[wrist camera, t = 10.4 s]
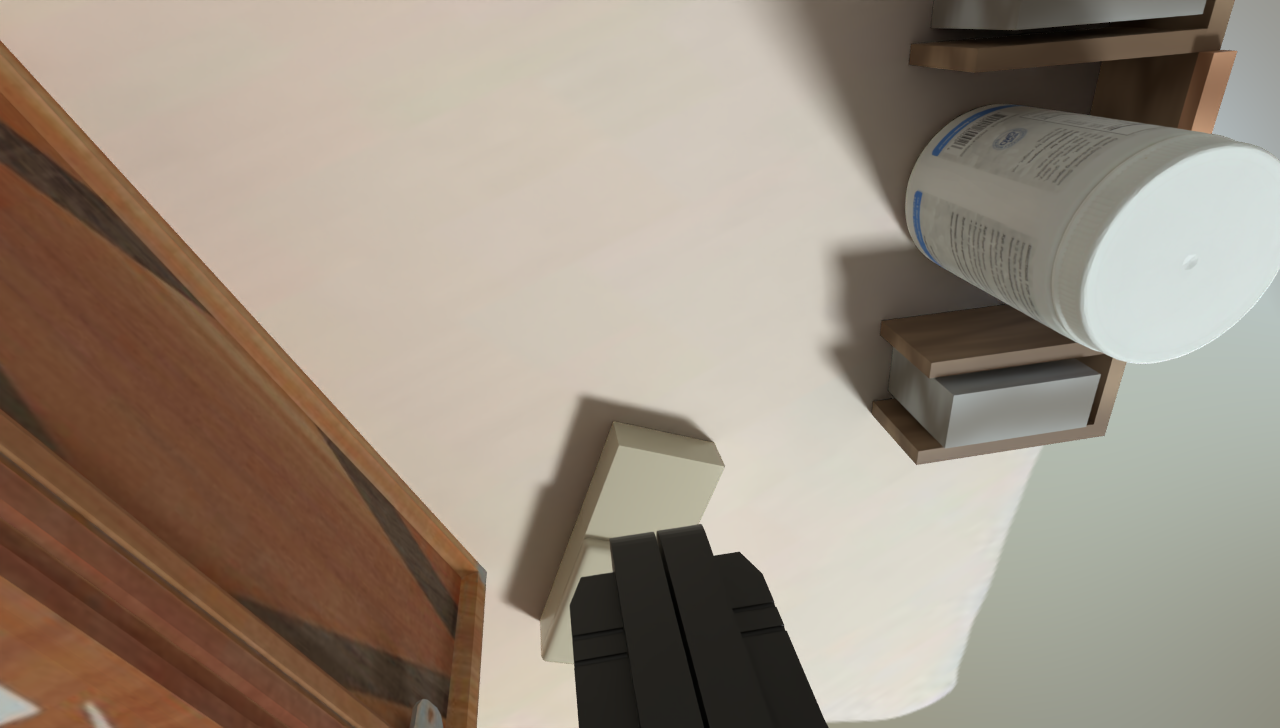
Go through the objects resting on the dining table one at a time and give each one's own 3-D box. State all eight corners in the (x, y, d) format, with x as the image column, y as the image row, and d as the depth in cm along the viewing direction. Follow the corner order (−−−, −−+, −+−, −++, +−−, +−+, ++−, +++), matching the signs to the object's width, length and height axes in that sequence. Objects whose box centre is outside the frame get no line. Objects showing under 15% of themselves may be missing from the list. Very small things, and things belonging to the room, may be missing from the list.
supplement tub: (1008, 273, 43) (1217, 383, 30) (875, 253, 41) (1037, 362, 28) (1078, 114, 39) (1354, 162, 26) (934, 83, 37) (1155, 119, 24)
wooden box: (-40, -19, 29) (-921, -76, 11) (494, 571, 48) (478, 892, 30) (-398, 218, 31) (-1638, 490, 13) (254, 695, 50) (107, 1068, 32)
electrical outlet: (729, 475, 42) (636, 673, 49) (712, 439, 46) (628, 629, 53) (620, 454, 40) (540, 664, 47) (612, 418, 44) (538, 618, 51)
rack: (925, -92, 33) (1068, -131, 24) (1159, -107, 34) (1373, -149, 26) (871, 414, 46) (951, 504, 38) (1041, 389, 48) (1155, 470, 39)
